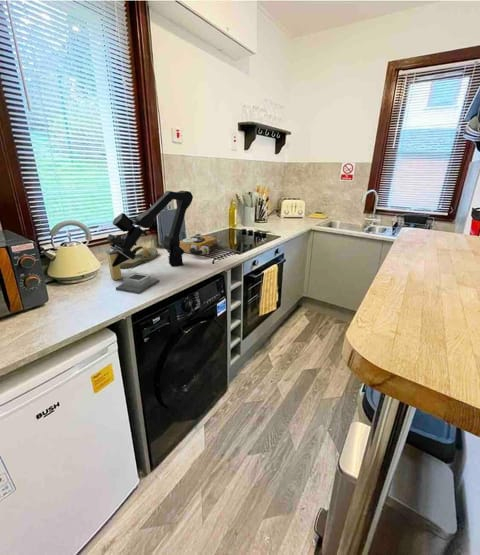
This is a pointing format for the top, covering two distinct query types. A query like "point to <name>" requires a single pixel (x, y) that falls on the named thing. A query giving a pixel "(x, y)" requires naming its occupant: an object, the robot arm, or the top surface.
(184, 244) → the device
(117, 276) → the tan upright block
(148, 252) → the sandal
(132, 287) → the grey stepped base
